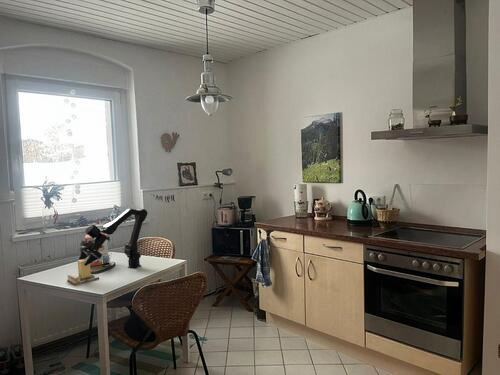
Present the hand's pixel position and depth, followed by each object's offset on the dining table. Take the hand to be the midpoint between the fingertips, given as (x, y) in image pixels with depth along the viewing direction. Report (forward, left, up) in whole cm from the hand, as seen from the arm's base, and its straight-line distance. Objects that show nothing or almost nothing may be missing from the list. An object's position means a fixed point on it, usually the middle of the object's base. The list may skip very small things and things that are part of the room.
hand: (81, 264), depth 222 cm
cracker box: (+16, -32, -10) cm, 37 cm away
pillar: (-1, -1, -9) cm, 9 cm away
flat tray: (-1, -1, -10) cm, 10 cm away
